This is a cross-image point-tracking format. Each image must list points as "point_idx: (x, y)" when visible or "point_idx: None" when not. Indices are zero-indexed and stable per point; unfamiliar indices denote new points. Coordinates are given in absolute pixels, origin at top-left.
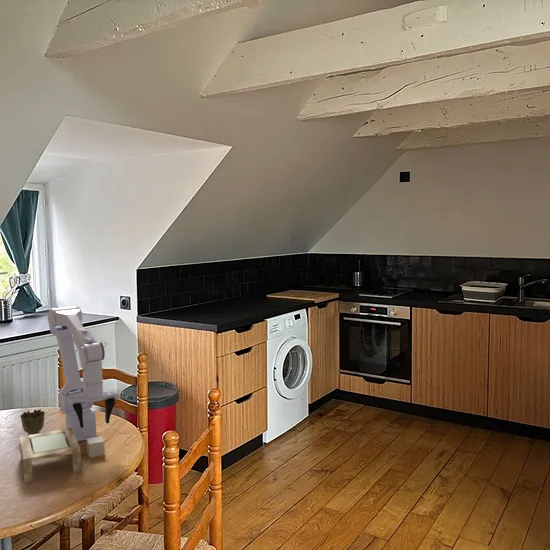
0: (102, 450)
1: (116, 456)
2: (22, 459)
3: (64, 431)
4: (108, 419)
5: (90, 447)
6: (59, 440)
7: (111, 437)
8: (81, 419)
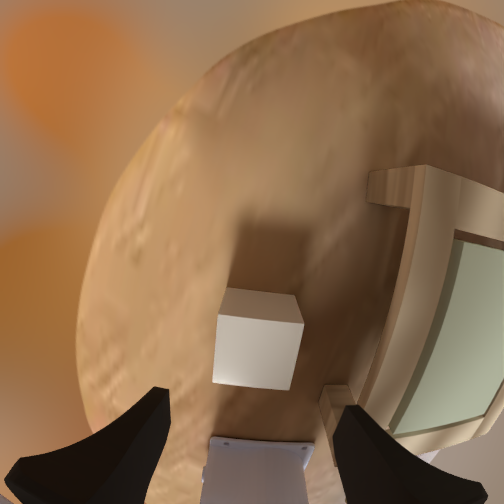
0: (234, 296)
1: (184, 239)
2: None
3: None
4: (146, 401)
5: (294, 314)
6: (451, 355)
7: None
8: (383, 443)
